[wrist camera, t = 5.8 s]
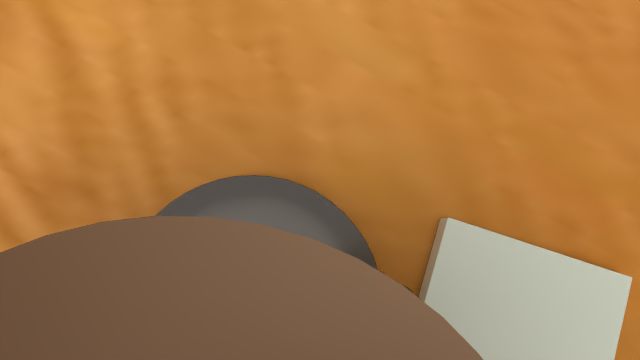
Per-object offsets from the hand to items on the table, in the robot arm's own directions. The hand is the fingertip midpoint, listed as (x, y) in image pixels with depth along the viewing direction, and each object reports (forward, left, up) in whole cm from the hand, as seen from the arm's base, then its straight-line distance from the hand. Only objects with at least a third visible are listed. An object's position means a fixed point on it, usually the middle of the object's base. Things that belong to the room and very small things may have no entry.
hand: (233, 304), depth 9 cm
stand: (+7, -8, -13) cm, 17 cm away
